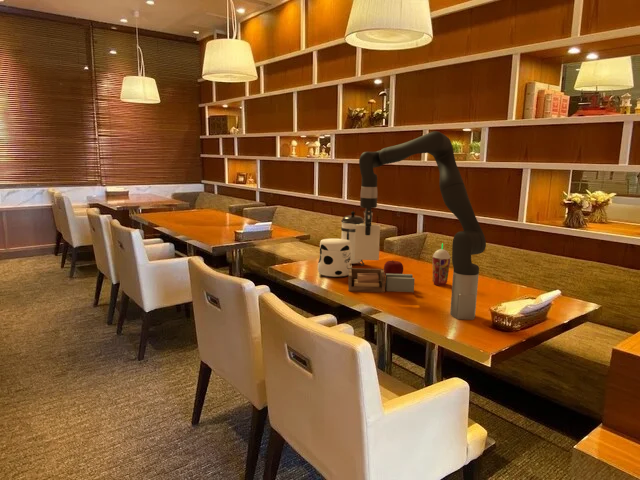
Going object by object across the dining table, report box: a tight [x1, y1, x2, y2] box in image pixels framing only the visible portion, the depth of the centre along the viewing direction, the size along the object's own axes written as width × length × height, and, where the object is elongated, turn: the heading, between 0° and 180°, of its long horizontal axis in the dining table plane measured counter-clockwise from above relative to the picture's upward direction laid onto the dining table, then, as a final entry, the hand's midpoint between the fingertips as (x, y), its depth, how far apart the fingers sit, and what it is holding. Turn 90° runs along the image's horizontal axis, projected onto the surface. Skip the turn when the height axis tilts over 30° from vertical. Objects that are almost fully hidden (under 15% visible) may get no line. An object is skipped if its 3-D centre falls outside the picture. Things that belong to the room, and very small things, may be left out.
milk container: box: [317, 238, 353, 279], centre depth 228 cm, size 17×17×18 cm
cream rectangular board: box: [355, 224, 381, 261], centre depth 207 cm, size 2×11×16 cm, turn 87°
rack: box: [348, 267, 386, 293], centre depth 206 cm, size 14×16×8 cm
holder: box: [385, 273, 415, 295], centre depth 205 cm, size 8×12×7 cm, turn 87°
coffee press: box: [340, 210, 365, 266], centre depth 254 cm, size 17×16×30 cm
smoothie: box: [432, 242, 452, 287], centre depth 216 cm, size 8×8×20 cm
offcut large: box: [354, 279, 379, 287], centre depth 204 cm, size 6×11×4 cm, turn 87°
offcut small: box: [357, 273, 379, 283], centre depth 204 cm, size 5×9×3 cm, turn 91°
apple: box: [383, 259, 404, 277], centre depth 222 cm, size 10×10×10 cm
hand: (367, 234), depth 206 cm, fingers closed on cream rectangular board, 2 cm apart
